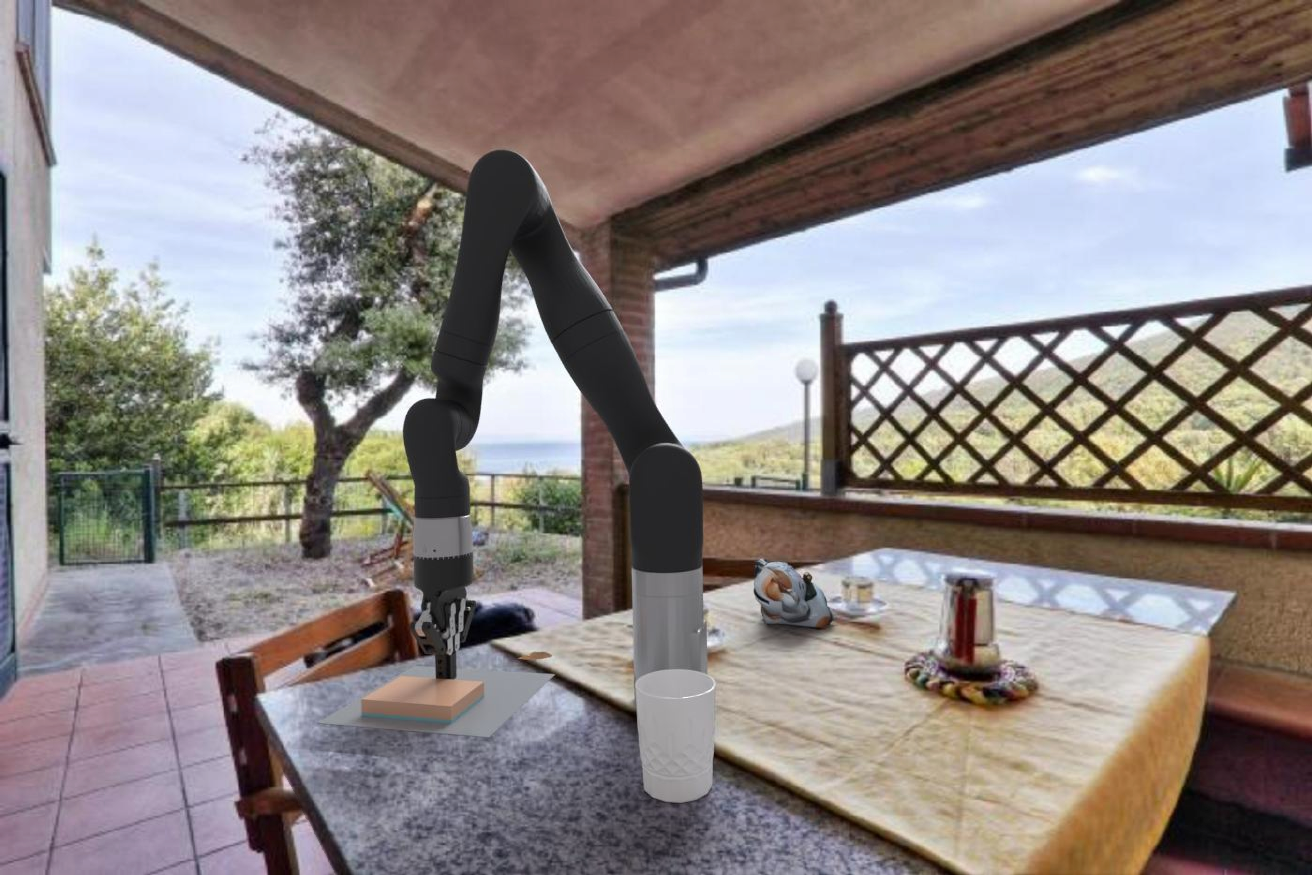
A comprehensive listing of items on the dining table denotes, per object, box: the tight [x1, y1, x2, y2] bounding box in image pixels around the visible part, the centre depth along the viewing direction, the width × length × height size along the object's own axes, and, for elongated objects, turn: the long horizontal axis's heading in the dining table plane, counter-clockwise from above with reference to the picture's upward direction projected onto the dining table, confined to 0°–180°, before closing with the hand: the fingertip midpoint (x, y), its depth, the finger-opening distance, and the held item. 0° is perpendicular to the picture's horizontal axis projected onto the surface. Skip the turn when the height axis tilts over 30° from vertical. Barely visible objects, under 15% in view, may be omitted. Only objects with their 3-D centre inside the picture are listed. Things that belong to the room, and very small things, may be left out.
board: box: [317, 665, 556, 738], centre depth 86 cm, size 22×20×1 cm
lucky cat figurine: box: [753, 558, 837, 630], centre depth 120 cm, size 15×12×14 cm
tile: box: [361, 676, 484, 723], centre depth 83 cm, size 12×2×8 cm
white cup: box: [635, 669, 717, 804], centre depth 65 cm, size 8×8×10 cm
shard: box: [517, 650, 553, 661], centre depth 100 cm, size 11×8×2 cm
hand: (446, 680), depth 88 cm, fingers closed
